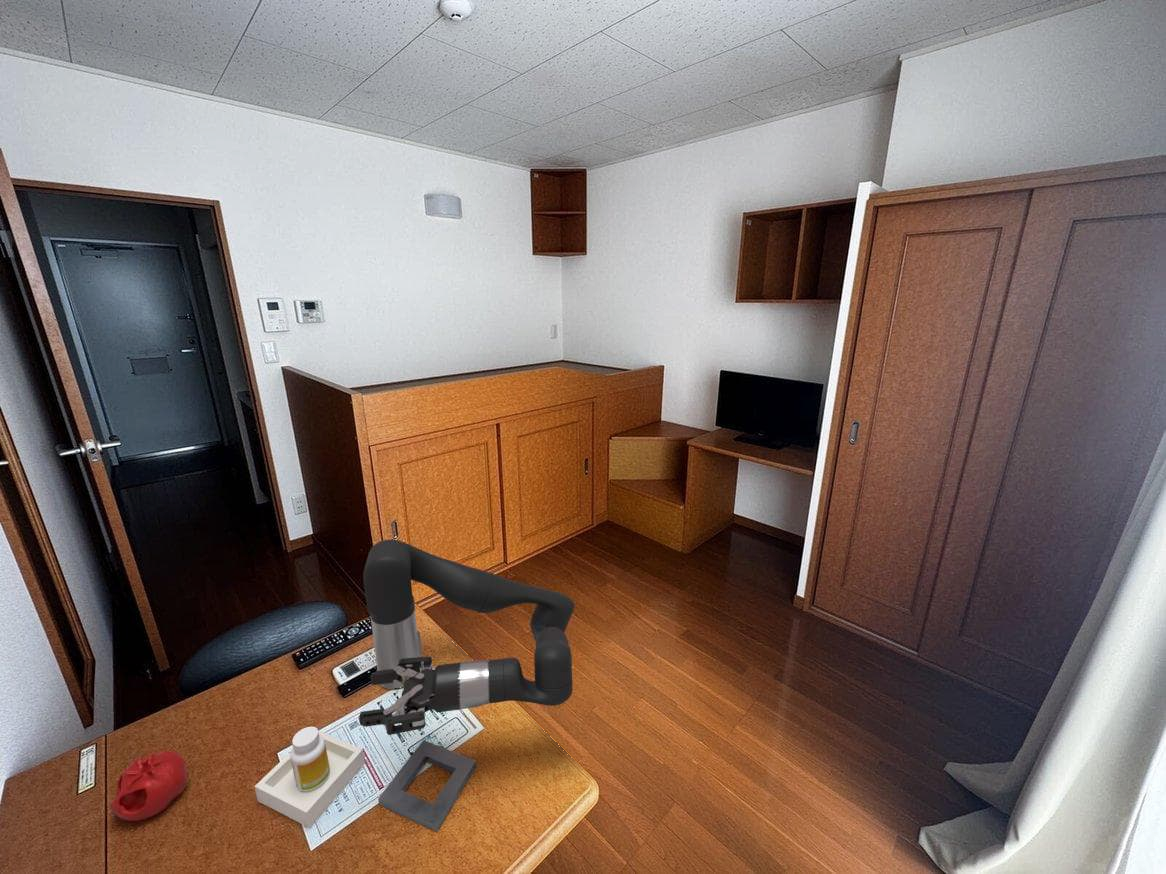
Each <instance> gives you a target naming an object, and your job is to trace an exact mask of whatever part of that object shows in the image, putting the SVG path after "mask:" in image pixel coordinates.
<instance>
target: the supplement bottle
mask: <svg viewBox="0 0 1166 874" xmlns="http://www.w3.org/2000/svg"><path fill="white" fill-rule="evenodd" d="M318 731H319V729H318V728H317V727H314V726H306V727H304V728H301V729H300V730H299V731H297V732H296V733H295V735H294V736H293V738H292V741H291V743H292V749H291V751H290V752H291V754H290V758H291V763H292V768H293V773H294V778H295V782H296V786H297V788H298V789H299V790H300V791H304V792H307V791H312V790H314V789H316V788H318V787H319V786H321V785H322V784H323V783H324V782H325V781H326V779H327V778H328V776H329V773H330V766H329V761H328V756H327V750H326V744H325V740H324V738H323V737H322V736H321V735H319V732H318Z"/></svg>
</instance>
